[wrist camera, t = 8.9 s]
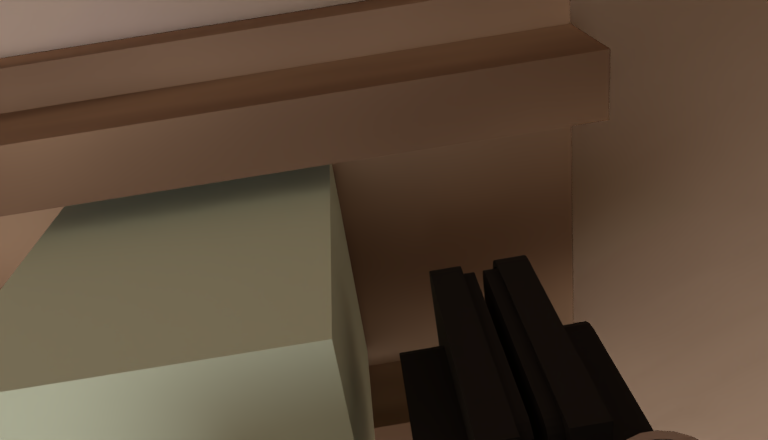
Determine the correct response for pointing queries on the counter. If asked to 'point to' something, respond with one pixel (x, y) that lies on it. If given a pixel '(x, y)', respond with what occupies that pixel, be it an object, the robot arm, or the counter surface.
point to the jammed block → (189, 319)
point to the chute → (331, 140)
